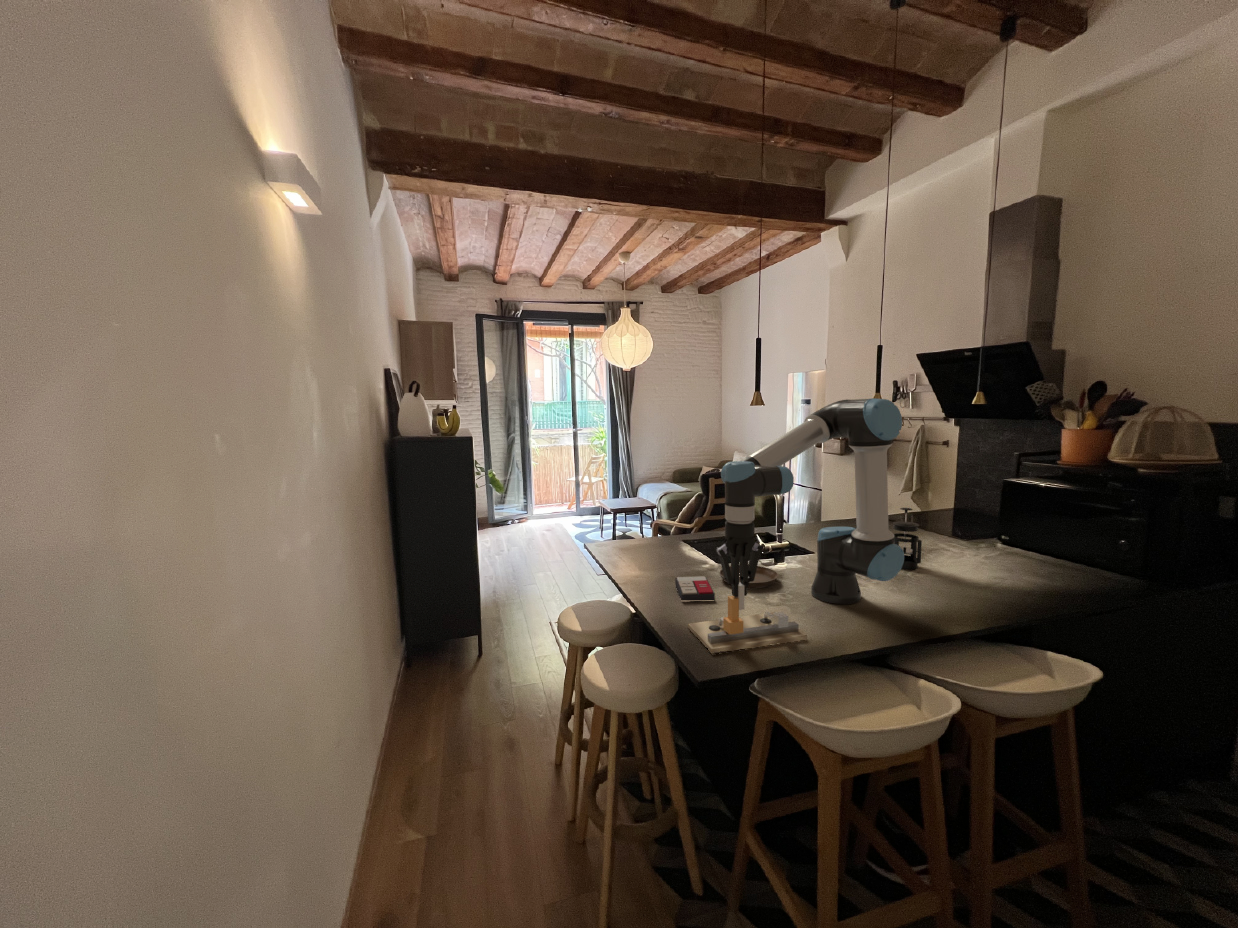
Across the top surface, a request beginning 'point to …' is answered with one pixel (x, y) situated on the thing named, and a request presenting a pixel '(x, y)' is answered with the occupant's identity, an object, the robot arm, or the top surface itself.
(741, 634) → the rail
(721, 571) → the plant saucer
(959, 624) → the top surface
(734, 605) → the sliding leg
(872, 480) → the robot arm
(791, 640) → the hole plate
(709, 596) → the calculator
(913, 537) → the french press
